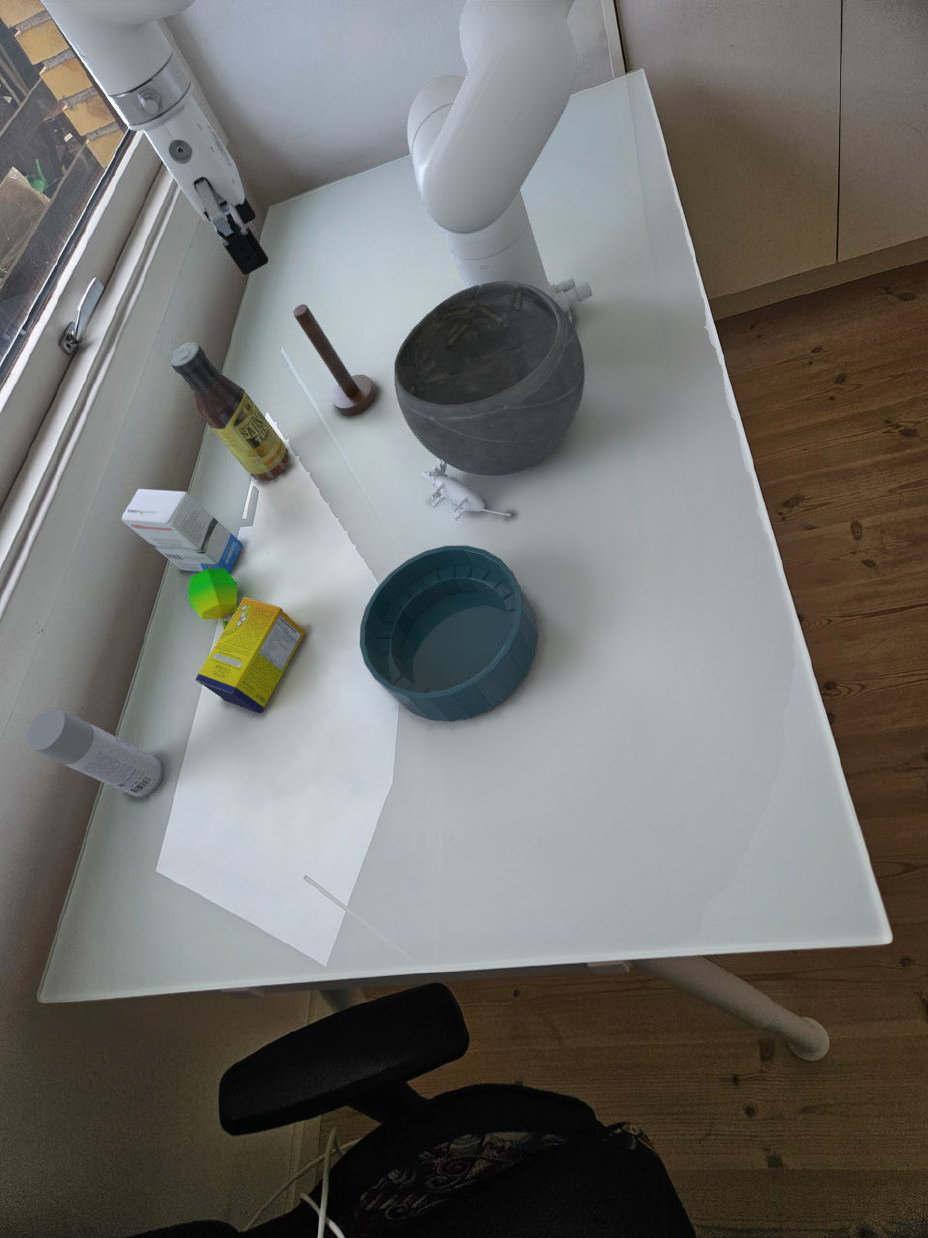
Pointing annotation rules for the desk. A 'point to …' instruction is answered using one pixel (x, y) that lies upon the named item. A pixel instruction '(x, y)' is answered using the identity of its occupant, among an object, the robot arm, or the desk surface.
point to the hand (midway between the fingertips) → (250, 244)
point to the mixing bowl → (449, 633)
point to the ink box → (182, 530)
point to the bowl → (491, 378)
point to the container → (94, 752)
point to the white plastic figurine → (454, 491)
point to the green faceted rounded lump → (213, 594)
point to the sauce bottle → (231, 414)
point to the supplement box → (251, 654)
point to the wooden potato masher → (337, 369)
